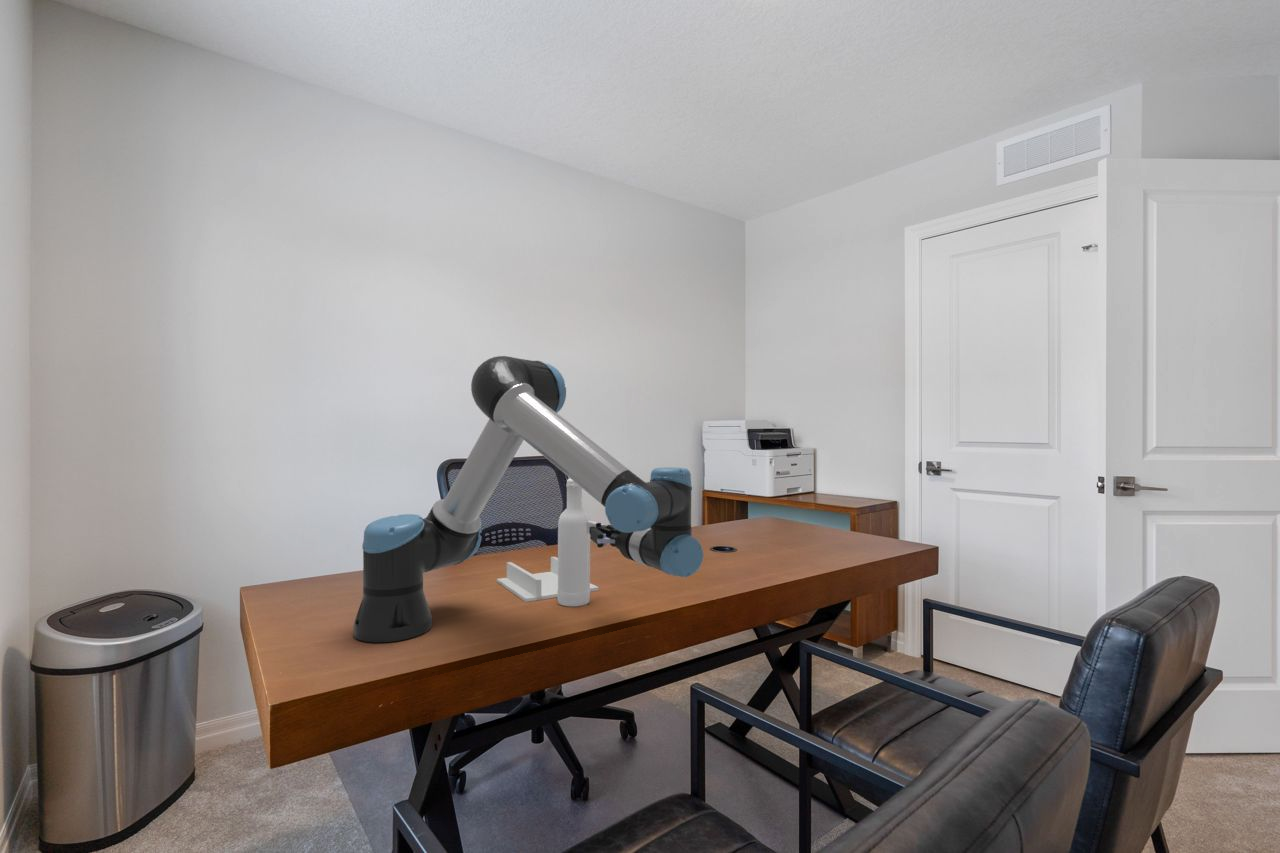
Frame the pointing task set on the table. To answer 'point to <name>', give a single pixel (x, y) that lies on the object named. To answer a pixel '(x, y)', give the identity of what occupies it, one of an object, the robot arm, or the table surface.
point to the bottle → (573, 551)
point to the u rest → (533, 582)
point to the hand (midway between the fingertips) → (589, 527)
